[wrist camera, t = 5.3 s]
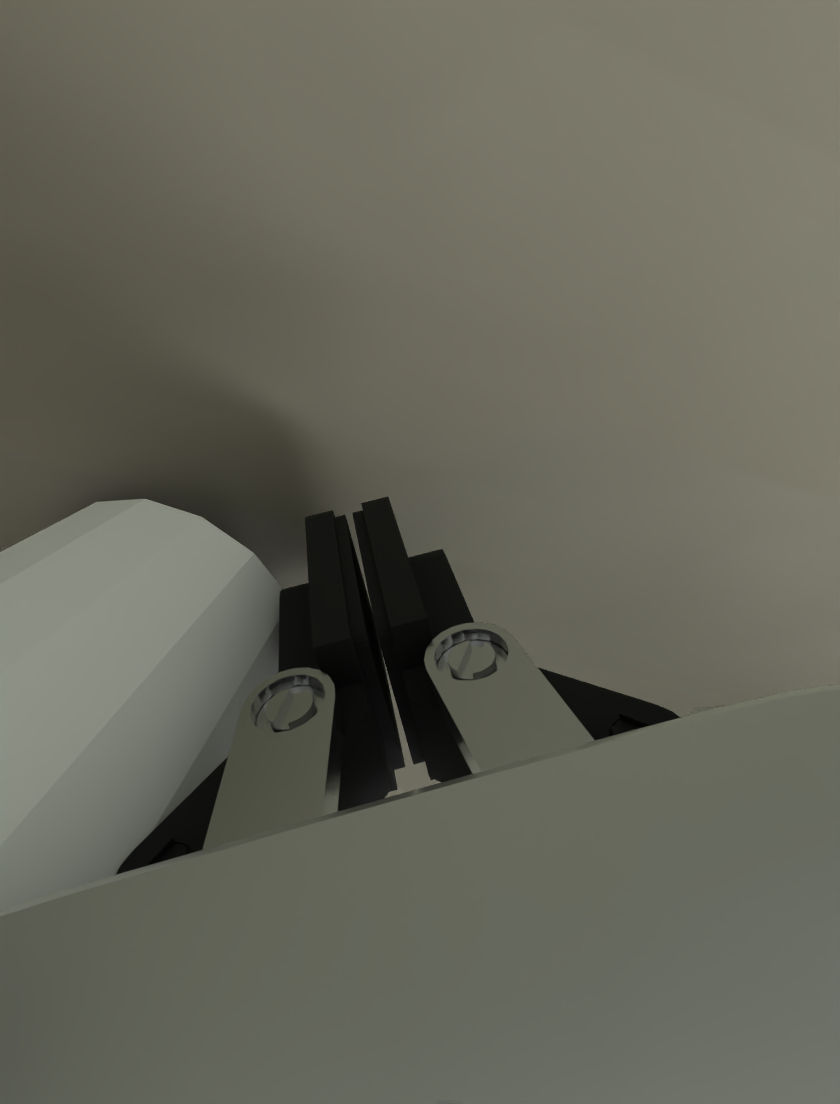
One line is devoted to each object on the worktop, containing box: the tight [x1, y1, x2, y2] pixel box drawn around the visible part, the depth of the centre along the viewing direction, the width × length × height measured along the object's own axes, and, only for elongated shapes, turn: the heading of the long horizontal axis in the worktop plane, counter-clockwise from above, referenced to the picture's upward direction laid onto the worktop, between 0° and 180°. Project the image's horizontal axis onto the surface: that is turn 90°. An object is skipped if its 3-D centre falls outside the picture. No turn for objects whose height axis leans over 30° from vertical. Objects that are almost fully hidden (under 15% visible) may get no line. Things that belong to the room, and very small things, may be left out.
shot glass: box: [0, 499, 283, 910], centre depth 10 cm, size 7×7×7 cm
